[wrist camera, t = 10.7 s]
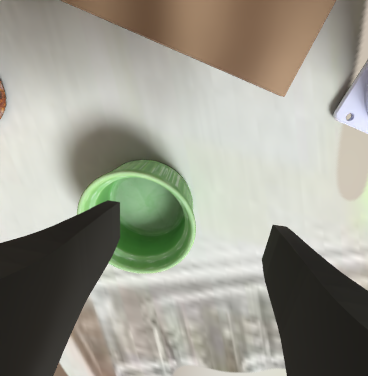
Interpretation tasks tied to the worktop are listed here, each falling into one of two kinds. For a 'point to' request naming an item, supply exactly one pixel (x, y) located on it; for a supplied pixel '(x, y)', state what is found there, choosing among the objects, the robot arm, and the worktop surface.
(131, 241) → the ramekin
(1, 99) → the sauce bottle
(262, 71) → the baseplate
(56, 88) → the worktop surface
